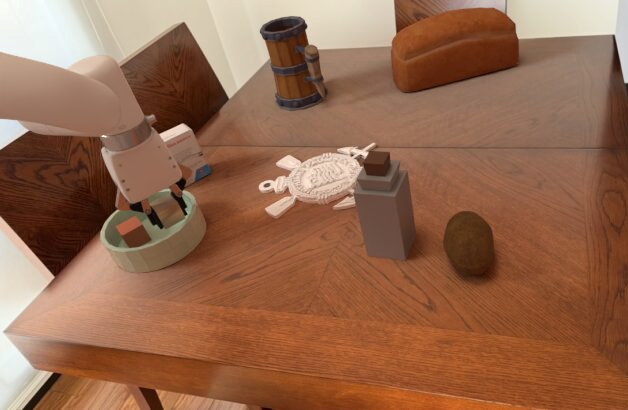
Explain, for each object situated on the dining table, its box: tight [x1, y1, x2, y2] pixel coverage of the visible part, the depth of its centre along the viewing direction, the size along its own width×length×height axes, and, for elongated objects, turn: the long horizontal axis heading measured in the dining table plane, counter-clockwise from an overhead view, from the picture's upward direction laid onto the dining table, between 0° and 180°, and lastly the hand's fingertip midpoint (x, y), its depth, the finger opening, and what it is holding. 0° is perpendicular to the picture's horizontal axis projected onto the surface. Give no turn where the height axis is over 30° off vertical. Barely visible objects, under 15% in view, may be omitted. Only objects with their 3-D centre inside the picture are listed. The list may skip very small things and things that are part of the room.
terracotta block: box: [115, 216, 151, 248], centre depth 95 cm, size 4×4×4 cm
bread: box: [390, 7, 520, 93], centre depth 129 cm, size 14×33×16 cm, turn 104°
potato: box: [442, 210, 495, 277], centre depth 79 cm, size 8×12×8 cm, turn 8°
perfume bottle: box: [352, 150, 417, 261], centre depth 81 cm, size 7×7×18 cm
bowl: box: [99, 188, 208, 274], centre depth 95 cm, size 18×18×6 cm
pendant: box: [258, 142, 377, 220], centre depth 104 cm, size 21×28×1 cm
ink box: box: [158, 123, 212, 188], centre depth 109 cm, size 9×5×12 cm, turn 130°
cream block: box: [150, 194, 186, 229], centre depth 91 cm, size 4×4×4 cm
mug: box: [259, 15, 329, 112], centre depth 128 cm, size 19×14×20 cm
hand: (171, 218), depth 92 cm, fingers closed on cream block, 4 cm apart
